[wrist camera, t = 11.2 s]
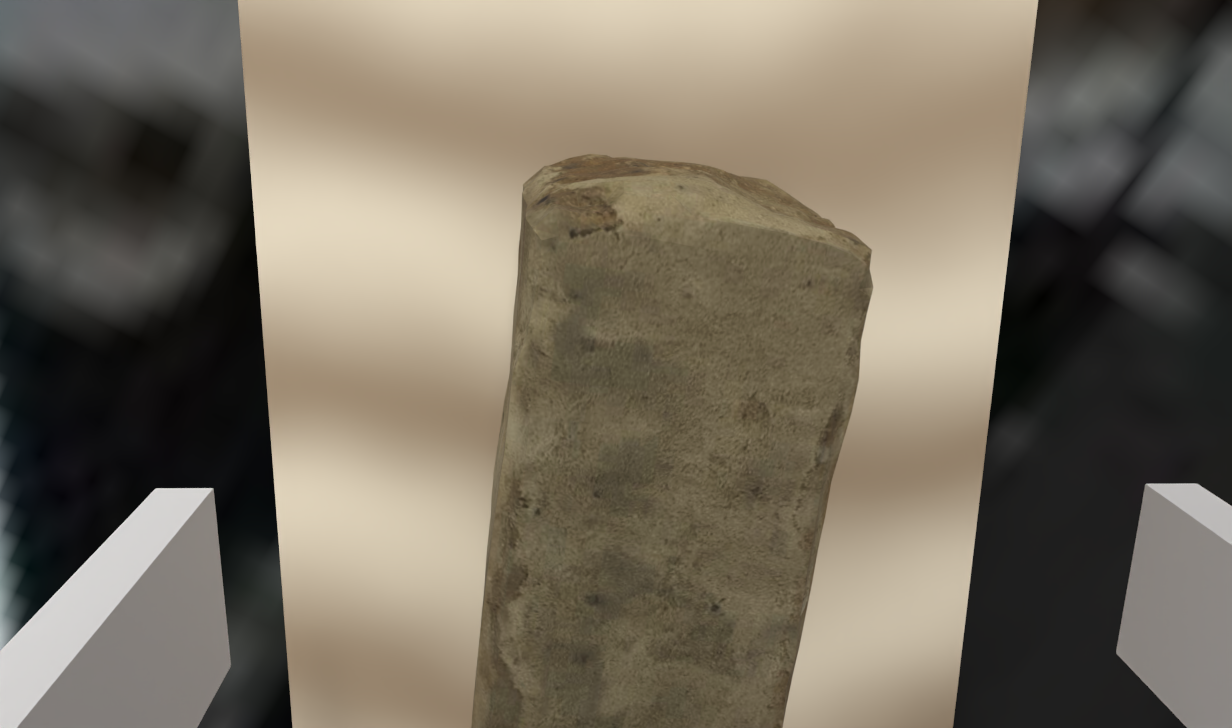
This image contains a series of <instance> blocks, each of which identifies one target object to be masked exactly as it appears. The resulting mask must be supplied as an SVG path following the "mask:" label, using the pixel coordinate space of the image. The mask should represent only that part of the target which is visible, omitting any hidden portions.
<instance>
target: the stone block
mask: <svg viewBox="0 0 1232 728" xmlns="http://www.w3.org/2000/svg"><path fill="white" fill-rule="evenodd" d="M871 254H872V249H870V248H869V247H868V246H867V245H866V244H865V243H864V242H863V241H861V240H860V239H859V238H858V237H857V236H855V235H854V234H853V233H851V232H848V231H846V230H843V229H838V228H835V226H834V224H833V223H832V222H831V221H830V220H829V219H825V218H822V217H821V216H820V215H819V214H818V213H816V212H815V211H813V210H812V209H810V208H809V207H807V206H805V205H804V204H802V203H801V202H800V201H798V200H797V199H795V198H794V197H792V196H791V195H790V194H788V193H787V192H785V191H784V190H782V189H781V188H779V187H777V186H776V185H774V184H773V183H771V182H769V181H768V180H765V179H759V178H752V177H744V176H737V175H734V174H731V173H728V172H726V171H724V170H721V169H718V168H715V167H711V166H708V165H704V164H695V163H687V162H674V161H657V160H645V159H637V158H629V157H615V158H612V157H610V156H607V155H599V154H587V155H582V156H577V157H572V158H568V159H565V160H563V161H560V162H557V163H555V164H552V165H548V166H544V167H542V168H541V169H540V170H539V171H538V172H537V173H535V174H534V175H533V176H532V177H531V178H530V179H528V180H527V181H526V182H525V183H524V184H523V193H522V211H521V230H520V240H519V251H518V276H517V286H516V295H515V304H514V314H513V331H512V347H511V361H510V374H509V379H508V384H507V389H506V394H505V400H504V405H503V412H502V419H501V426H500V433H499V440H498V446H497V452H496V459H495V466H494V472H493V487H492V496H491V517H490V525H489V535H488V545H487V555H486V569H485V584H484V596H483V606H482V617H481V628H480V637H479V647H478V657H477V667H476V678H475V689H474V700H473V711H472V724H471V728H783V722H784V717H785V711H786V706H787V701H788V696H789V691H790V686H791V681H792V676H793V672H794V668H795V663H796V659H797V655H798V650H799V646H800V641H801V636H802V631H803V626H804V621H805V616H806V611H807V606H808V601H809V596H810V591H811V586H812V581H813V575H814V569H815V564H816V558H817V553H818V547H819V543H820V538H821V534H822V529H823V524H824V520H825V515H826V510H827V504H828V498H829V492H830V487H831V481H832V478H833V474H834V471H835V468H836V464H837V461H838V457H839V454H840V451H841V447H842V444H843V440H844V437H845V434H846V430H847V427H848V423H849V420H850V417H851V413H852V409H853V404H854V399H855V395H856V390H857V386H858V381H859V369H860V350H861V339H862V334H863V330H864V325H865V320H866V316H867V311H868V307H869V303H870V299H871V295H872V291H873V283H872V278H871V273H870V262H871Z"/></svg>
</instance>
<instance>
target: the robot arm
mask: <svg viewBox="0 0 1232 728" xmlns="http://www.w3.org/2000/svg"><path fill="white" fill-rule="evenodd" d="M1116 654H1117V655H1118V656H1119V657H1120V658H1121V659H1122V660H1123V661H1124V662H1125V663H1126V664H1127V665H1128V666H1129V667H1130V668H1131V669H1132V670H1133V671H1134V672H1135V674H1136V675H1137V676H1138V677H1139V678H1140V679H1141V680H1142V681H1143V682H1144V683H1145V684H1146V685H1147V686H1148V687H1149V688H1150V689H1151V690H1152V691H1153V692H1154V693H1155V695H1156V696H1157V697H1158V698H1159V699H1160V700H1161V701H1162V702H1163V703H1164V704H1165V705H1166V706H1167V707H1168V708H1169V709H1170V710H1171V711H1172V712H1173V713H1174V714H1175V716H1176V717H1177V718H1178V719H1179V720H1180V721H1181V722H1182V723H1183V724H1184V725H1185V726H1186V727H1187V728H1232V506H1231V505H1229V504H1228V503H1226V502H1224V501H1223V500H1221V499H1220V498H1218V497H1217V496H1215V495H1214V494H1212V493H1211V492H1209V491H1208V490H1206V489H1205V488H1203V487H1201V486H1200V485H1198V484H1145V489H1144V495H1143V501H1142V507H1141V512H1140V518H1139V524H1138V529H1137V535H1136V541H1135V547H1134V552H1133V558H1132V564H1131V570H1130V575H1129V581H1128V587H1127V592H1126V598H1125V604H1124V610H1123V615H1122V621H1121V627H1120V633H1119V638H1118V644H1117V650H1116ZM230 667H231V661H230V651H229V641H228V631H227V621H226V610H225V600H224V590H223V580H222V570H221V560H220V550H219V540H218V530H217V520H216V510H215V500H214V490H213V488H156V489H155V490H154V491H153V492H152V493H151V494H150V495H149V496H148V497H147V498H146V499H145V500H144V501H143V502H142V504H141V505H140V506H139V507H138V508H137V509H136V510H135V511H134V512H133V513H132V514H131V515H130V516H129V517H128V518H127V519H126V520H125V521H124V522H123V523H122V524H121V525H120V526H119V528H118V529H117V530H116V531H115V532H114V533H113V534H112V535H111V536H110V537H109V538H108V539H107V540H106V541H105V542H104V543H103V544H102V545H101V546H100V547H99V548H98V549H97V551H96V552H95V553H94V554H93V555H92V556H91V557H90V558H89V559H88V560H87V561H86V562H85V563H84V564H83V565H82V566H81V567H80V568H79V569H78V570H77V571H76V572H75V574H74V575H73V576H72V577H71V578H70V579H69V580H68V581H67V582H66V583H65V584H64V585H63V586H62V587H61V588H60V589H59V590H58V591H57V592H56V593H55V594H54V595H53V596H52V598H51V599H50V600H49V601H48V602H47V603H46V604H45V605H44V606H43V607H42V608H41V609H40V610H39V611H38V612H37V613H36V614H35V615H34V616H33V617H32V618H31V619H30V621H29V622H28V623H27V624H26V625H25V626H24V627H23V628H22V629H21V630H20V631H19V632H18V633H17V634H16V635H15V636H14V637H13V638H12V639H11V640H10V641H9V642H8V644H7V645H6V646H5V647H4V648H3V649H2V650H1V651H0V728H197V727H198V725H199V723H200V721H201V719H202V718H203V716H204V714H205V712H206V710H207V709H208V707H209V705H210V703H211V701H212V699H213V698H214V696H215V694H216V692H217V690H218V688H219V687H220V685H221V683H222V681H223V679H224V677H225V676H226V674H227V672H228V670H229V668H230Z"/></svg>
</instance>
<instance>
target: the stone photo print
mask: <svg viewBox="0 0 1232 728" xmlns="http://www.w3.org/2000/svg"><path fill="white" fill-rule="evenodd" d="M1037 6H1038V0H238V8H239V21H240V34H241V48H242V61H243V74H244V87H245V101H246V114H247V127H248V141H249V154H250V167H251V180H252V194H253V207H254V220H255V234H256V247H257V260H258V273H259V287H260V300H261V313H262V327H263V340H264V353H265V367H266V380H267V393H268V406H269V420H270V433H271V446H272V460H273V473H274V486H275V499H276V513H277V526H278V539H279V553H280V566H281V579H282V593H283V606H284V619H285V632H286V646H287V659H288V672H289V686H290V699H291V712H292V725H293V728H471V724H472V711H473V700H474V689H475V678H476V667H477V657H478V647H479V637H480V628H481V617H482V606H483V596H484V584H485V569H486V555H487V545H488V535H489V525H490V517H491V496H492V487H493V472H494V466H495V459H496V452H497V446H498V440H499V433H500V426H501V419H502V412H503V405H504V400H505V394H506V389H507V384H508V379H509V374H510V361H511V347H512V331H513V314H514V304H515V295H516V286H517V276H518V251H519V240H520V230H521V211H522V193H523V184H524V183H525V182H526V181H527V180H528V179H530V178H531V177H532V176H533V175H534V174H535V173H537V172H538V171H539V170H540V169H541V168H542V167H544V166H548V165H552V164H555V163H557V162H560V161H563V160H565V159H568V158H572V157H577V156H582V155H587V154H599V155H607V156H610V157H612V158H615V157H629V158H637V159H645V160H657V161H674V162H687V163H695V164H704V165H708V166H711V167H715V168H718V169H721V170H724V171H726V172H728V173H731V174H734V175H737V176H744V177H752V178H759V179H765V180H768V181H769V182H771V183H773V184H774V185H776V186H777V187H779V188H781V189H782V190H784V191H785V192H787V193H788V194H790V195H791V196H792V197H794V198H795V199H797V200H798V201H800V202H801V203H802V204H804V205H805V206H807V207H809V208H810V209H812V210H813V211H815V212H816V213H818V214H819V215H820V216H821V217H822V218H825V219H829V220H830V221H831V222H832V223H833V224H834V226H835V228H838V229H843V230H846V231H848V232H851V233H853V234H854V235H855V236H857V237H858V238H859V239H860V240H861V241H863V242H864V243H865V244H866V245H867V246H868V247H869V248H870V249H872V254H871V262H870V273H871V278H872V283H873V291H872V295H871V299H870V303H869V307H868V311H867V316H866V320H865V325H864V330H863V334H862V339H861V350H860V369H859V381H858V386H857V390H856V395H855V399H854V404H853V409H852V413H851V417H850V420H849V423H848V427H847V430H846V434H845V437H844V440H843V444H842V447H841V451H840V454H839V457H838V461H837V464H836V468H835V471H834V474H833V478H832V481H831V487H830V492H829V498H828V504H827V510H826V515H825V520H824V524H823V529H822V534H821V538H820V543H819V547H818V553H817V558H816V564H815V569H814V575H813V581H812V586H811V591H810V596H809V601H808V606H807V611H806V616H805V621H804V626H803V631H802V636H801V641H800V646H799V650H798V655H797V659H796V663H795V668H794V672H793V676H792V681H791V686H790V691H789V696H788V701H787V706H786V711H785V717H784V722H783V728H953V722H954V713H955V705H956V696H957V688H958V679H959V671H960V662H961V654H962V645H963V636H964V628H965V619H966V611H967V602H968V594H969V585H970V577H971V568H972V560H973V551H974V543H975V534H976V526H977V517H978V509H979V500H980V492H981V483H982V474H983V466H984V457H985V449H986V440H987V432H988V423H989V415H990V406H991V398H992V389H993V381H994V372H995V364H996V355H997V347H998V338H999V330H1000V321H1001V312H1002V304H1003V295H1004V287H1005V278H1006V270H1007V261H1008V253H1009V244H1010V236H1011V227H1012V219H1013V210H1014V202H1015V193H1016V185H1017V176H1018V168H1019V159H1020V150H1021V142H1022V133H1023V125H1024V116H1025V108H1026V99H1027V91H1028V82H1029V74H1030V65H1031V57H1032V48H1033V40H1034V31H1035V23H1036V14H1037Z"/></svg>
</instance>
